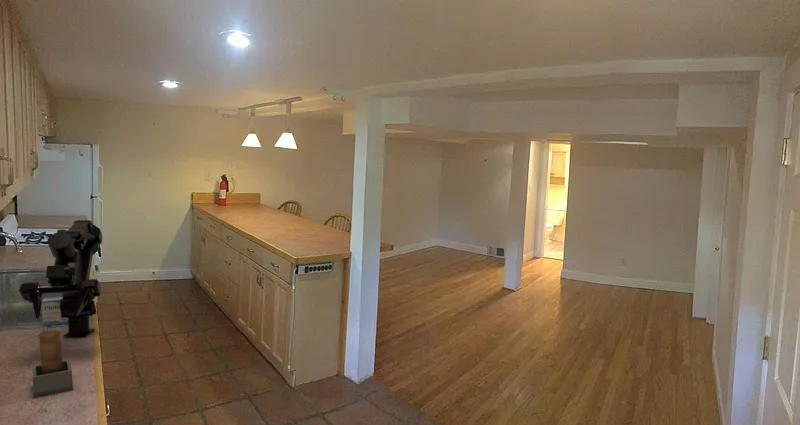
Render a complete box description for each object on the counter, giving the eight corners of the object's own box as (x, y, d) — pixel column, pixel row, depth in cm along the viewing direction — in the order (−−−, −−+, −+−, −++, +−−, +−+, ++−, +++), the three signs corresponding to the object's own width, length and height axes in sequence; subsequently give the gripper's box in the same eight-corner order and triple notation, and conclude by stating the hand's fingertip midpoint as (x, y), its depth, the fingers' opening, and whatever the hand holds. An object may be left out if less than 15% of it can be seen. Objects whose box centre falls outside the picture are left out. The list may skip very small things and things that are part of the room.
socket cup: (33, 385, 132) (32, 366, 131) (70, 377, 136) (69, 359, 136) (33, 397, 125) (32, 377, 125) (72, 389, 130) (71, 370, 129)
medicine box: (42, 327, 172) (41, 301, 171) (44, 322, 176) (43, 297, 175) (71, 324, 176) (69, 298, 175) (72, 320, 180) (71, 295, 179)
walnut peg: (48, 379, 133) (45, 330, 131) (66, 379, 133) (64, 329, 132) (38, 387, 128) (35, 336, 127) (57, 386, 129) (55, 335, 127)
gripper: (19, 254, 143) (7, 305, 134) (97, 251, 149) (90, 300, 140) (30, 275, 151) (19, 324, 142) (103, 272, 157) (97, 319, 148)
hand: (56, 317), depth 143 cm, fingers open, 9 cm apart
